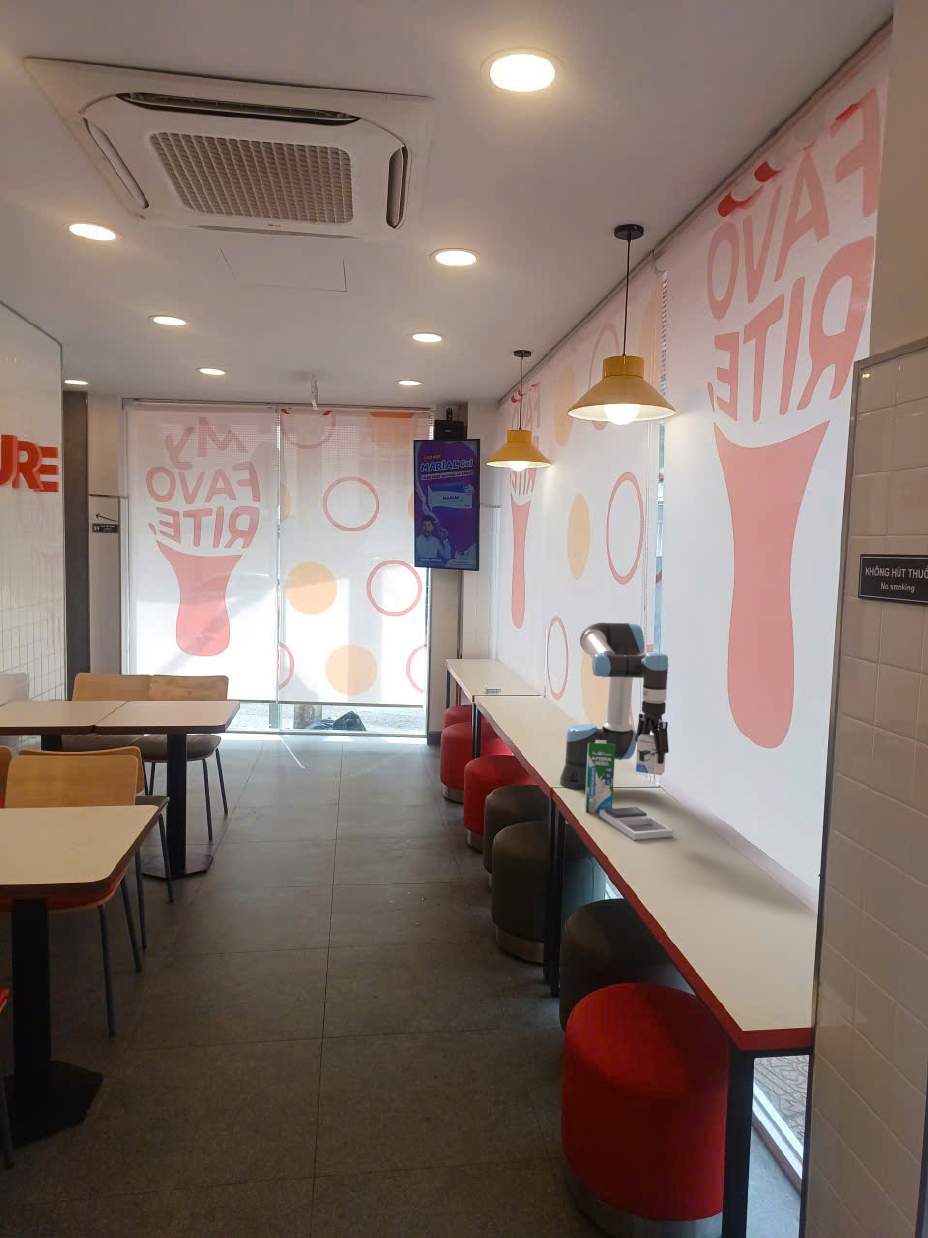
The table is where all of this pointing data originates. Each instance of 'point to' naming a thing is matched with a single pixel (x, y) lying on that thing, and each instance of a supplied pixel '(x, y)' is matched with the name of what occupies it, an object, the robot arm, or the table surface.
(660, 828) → the socket plate
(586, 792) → the milk carton
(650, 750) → the ink box
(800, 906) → the table surface
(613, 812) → the phone slab
